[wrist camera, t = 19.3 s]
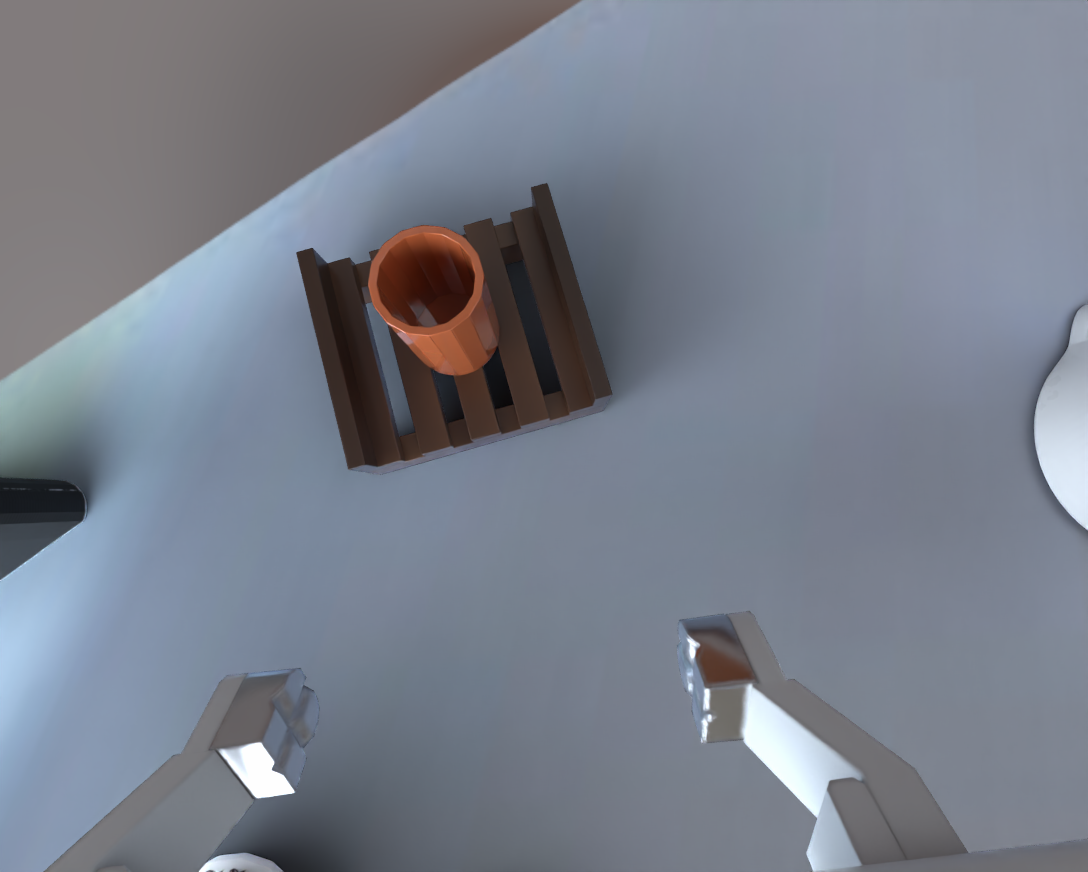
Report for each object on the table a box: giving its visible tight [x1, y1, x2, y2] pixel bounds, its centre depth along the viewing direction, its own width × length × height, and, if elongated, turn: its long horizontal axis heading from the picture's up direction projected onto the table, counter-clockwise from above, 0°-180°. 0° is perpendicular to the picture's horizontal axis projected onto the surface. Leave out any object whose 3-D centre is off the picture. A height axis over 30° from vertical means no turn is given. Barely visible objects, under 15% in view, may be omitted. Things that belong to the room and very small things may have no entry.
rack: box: [297, 183, 612, 475], centre depth 32 cm, size 15×13×5 cm
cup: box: [368, 225, 500, 376], centre depth 27 cm, size 5×5×8 cm
